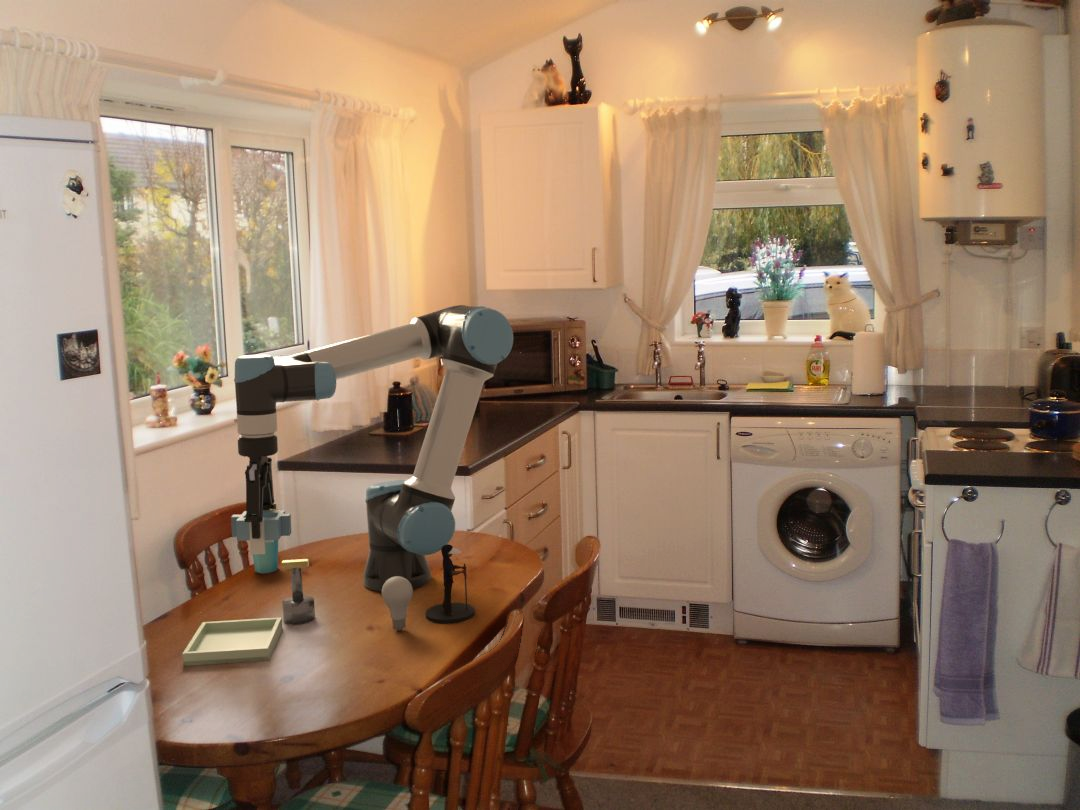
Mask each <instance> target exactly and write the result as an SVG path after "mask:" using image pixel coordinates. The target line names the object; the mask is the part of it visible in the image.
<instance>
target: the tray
mask: <svg viewBox="0 0 1080 810" xmlns="http://www.w3.org/2000/svg"><path fill="white" fill-rule="evenodd" d="M282 631H283V617H282V616H280V617H265V618H263V617H262V618H248V619H231V620H220V621H219V620H216V621H202V622H201V624H200V626H199V627H198V629H197V630H196V632H194V633H195V634H194V635H193V636H192V638H191V639H190V641H189V642H188V644H187V646H186V647H185V649H184V650H183V652H182V654H181V656H182V665H183V667H188V666H203V665H205V666H206V665H217V664H220V665H221V664H232V663H233V664H235V663H238V664H239V663H250V662H251V663H252V662H263V661H264V662H266V661H267V662H268V661H270V658H271V656H272V653H273V652H274V649H275V647H276V645H277V643H278V641H279V638H280V636H281V633H282Z"/></svg>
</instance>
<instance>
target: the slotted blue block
mask: <svg viewBox="0 0 1080 810" xmlns="http://www.w3.org/2000/svg"><path fill="white" fill-rule="evenodd" d="M252 515H256V514H252ZM291 516H292V514H291V513H286V510H285V509H282V510H281V509H278V510H264V511H263V516H262V518H263V520H262V521H264V533H265V540H278V541H279V540H280V539H281V537H290V535H292V517H291ZM244 519H246V510H244V511H243V512H242V513H241V514H232V515H231V517H230V521H231V522H230V523H231V525H230V526H231V537H232V538H236V542H239V541H241V542H242V541H243V542H244V541H247V542H248V541H249V542H250V531H249V522H245V520H244Z"/></svg>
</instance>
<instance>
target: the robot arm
mask: <svg viewBox="0 0 1080 810" xmlns="http://www.w3.org/2000/svg"><path fill="white" fill-rule="evenodd" d="M513 344H514V332H513V328H512V325H511V323H510V321H509V320H508V318H507V317H506V315H504V314H503V313H501V312H500V311H498V310H496V309H492V308H490V307H486V306H472V305H471V306H470V305H465V304H464V305H463V304H459V305H452V306H449V307H446V308H442V309H439V310H436V311H433V312H429V313H427V314H424V315H421V316H416V317H414V318H412V319H411V320H410V323H409V324H405V325H401V326H396V327H393V328H389V329H386V330H382V331H378V332H374V333H370V334H365V335H362V336H359V337H355V338H351V339H348V340H343V341H340V342H337V343H333V344H329V345H326V346H322V347H318V348H313V349H309V350H307V351H304V352H299V353H295V354H292V355H288V356H286V355H278V356H273V355H271V354H248V355H247V354H246V355H240V356H238V357H236V359H235V361H234V379H233V381H234V389H235V401H236V417H234V419H233V421H234V423H235V424H237V425H236V426H237V427H236V428H237V433H238V434H239V436H238V437H237V452H238V455H239V456H240V457H244V458H246V457H247V458H249V464H247V465H246V469H245V472H244V475H245V490H246V491H245V498H246V499H245V502H246V504H245V505H246V506H245V507H246V510H245V511H246V519H244V520H245V522H249V531H250V541H249V547H250V548H249V551H250V555H252V554H265V542H274V540H265V533H264V521H262V520H263V518H262V516H263V511H264V510H270V509H277V503H275V496H274V495H275V492H274V483H273V481H274V479H273V471H272V469H273V468H272V465H273V464H272V462H273V459H272V457H271V456H274V455H276V454H277V453H278V452H279V449H278V448H279V447H278V446H279V445H278V435H277V434H276V433H277V432H278V418H277V403H285V402H286V403H287V402H303V401H320V400H326V399H330V398H333V396H334V395H335V393H336V390H337V380H340V379H344V378H348V377H352V376H356V375H358V374H359V375H360V374H362V373H365V372H369V371H373V370H376V369H380V368H384V367H387V366H391V365H395V364H398V363H402V362H405V361H410V360H413V359H417V358H420V359H422V360H425V361H426V360H429V359H434V358H439V357H441V361H442V363H443V366H444V368H445V371H444V374H443V378H442V382H441V385H440V387H439V391H438V394H437V398H436V400H435V404H434V406H433V410H432V413H431V416H430V420H429V423H428V427H427V430H426V431H425V436H424V439H423V442H422V446H421V448H420V451H419V455H418V459H417V461H416V464H415V468H414V471H413V475H412V476H411V477H409V478H408V479H398V480H388V481H381V482H377V483H373V484H369V486H367V488H366V493H365V503H366V504H365V505H366V518H367V531H368V532H367V533H368V543H369V546H368V547H369V552H368V556H367V559H366V563H365V567H364V570H363V575H362V577H363V586H364V587H365V588H367V589H369V590H372V591H377V592H382V587H383V585H384V583H385V582H386V581H387V580H388V579H390V578H392V577H395V576H400V577H404V578H405V579H407V580H408V581H409V582H410V583H411V585H412V588H413V590H416V589H419V588H421V587H424V586H426V585H428V584H429V583H430V582H431V581H432V571H431V567H430V566H429V565H430V564H429V562H428V560H427V557H426V556H430V555H434V554H437V553H438V552H440V551H441V549H442V547H443V546H444V545H448V544H450V541H451V540H452V539H453V537H454V534H455V530H456V518H455V516H454V514H453V512H452V509H453V507H454V503H455V500H456V496H455V494H454V492H453V490H452V486H453V482H454V479H455V476H456V473H457V470H458V468H459V467H458V466H459V463H460V460H461V457H462V453H463V451H464V448H465V446H466V445H465V444H466V440H467V437H468V434H469V431H470V429H471V425H472V422H473V418H474V416H475V412H476V409H477V405H478V403H479V399H480V396H481V393H482V390H483V387H484V383H485V382H486V381H487V380H490V379H491V378H493V377H494V375H495V372H496V369H497V365H498V364H499V363H500V362H502V361H503V360H505V359H506V358H507V357H508V355H509V354H510V352H512V348H513ZM252 514H256V515H252Z"/></svg>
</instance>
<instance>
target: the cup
mask: <svg viewBox="0 0 1080 810" xmlns="http://www.w3.org/2000/svg"><path fill="white" fill-rule="evenodd" d="M270 510H279V509H277V508H276V509H270ZM251 555H252V559H253V565H254V571H255V573H256V574H257V573H258V574H270V573H274V572H276V571H278V569H279V540H274V542H265V554H251Z"/></svg>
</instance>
